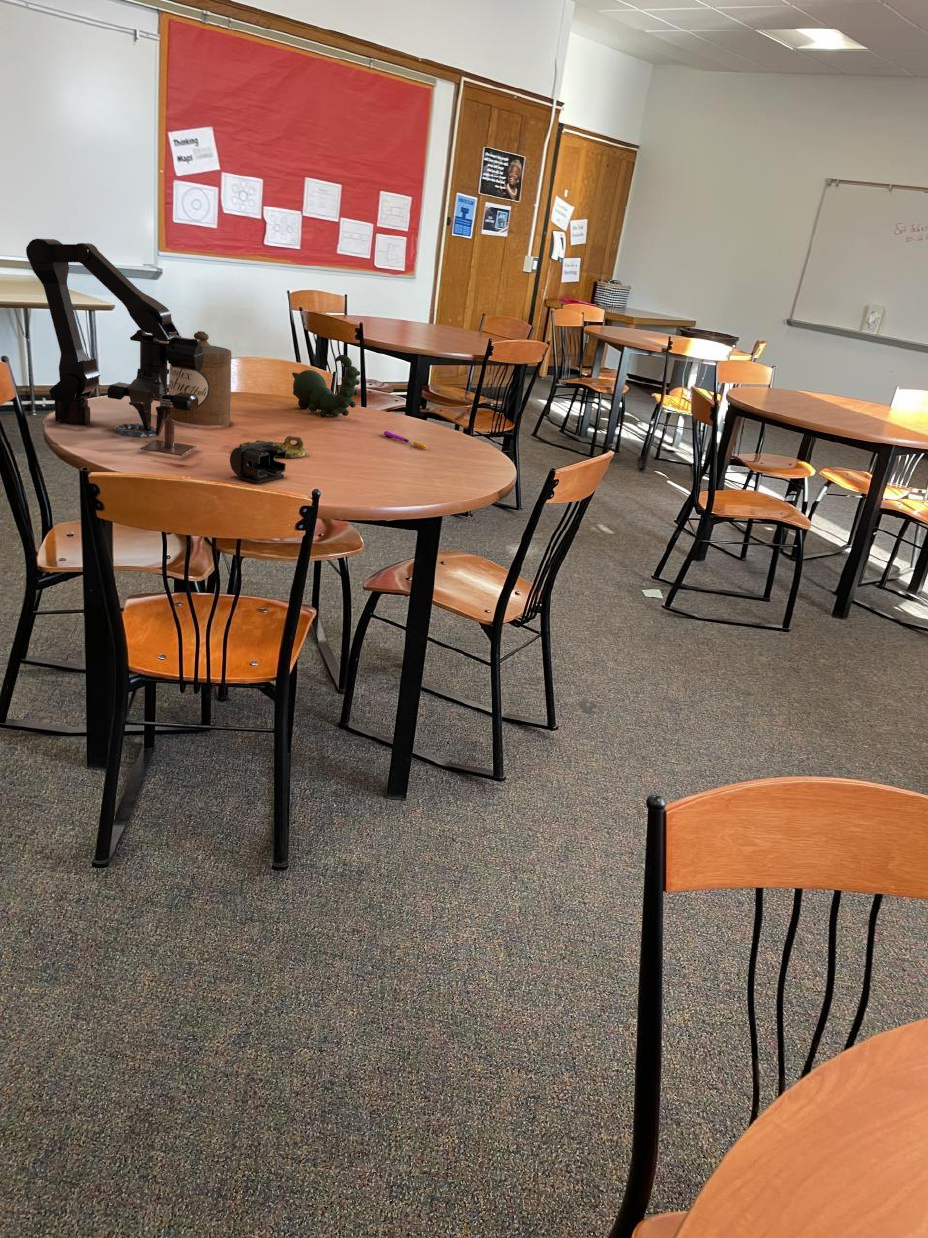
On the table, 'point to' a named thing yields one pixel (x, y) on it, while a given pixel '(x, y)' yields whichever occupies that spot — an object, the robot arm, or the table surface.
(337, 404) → the toy figurine
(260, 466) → the end cap
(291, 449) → the seal
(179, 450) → the stand
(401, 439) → the purple paintbrush
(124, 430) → the ring
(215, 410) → the wooden container
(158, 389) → the robot arm
